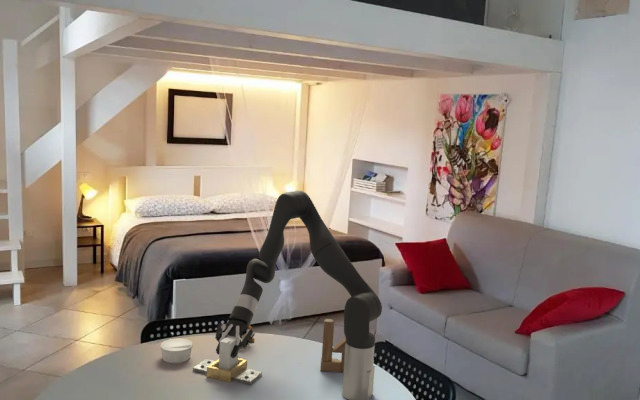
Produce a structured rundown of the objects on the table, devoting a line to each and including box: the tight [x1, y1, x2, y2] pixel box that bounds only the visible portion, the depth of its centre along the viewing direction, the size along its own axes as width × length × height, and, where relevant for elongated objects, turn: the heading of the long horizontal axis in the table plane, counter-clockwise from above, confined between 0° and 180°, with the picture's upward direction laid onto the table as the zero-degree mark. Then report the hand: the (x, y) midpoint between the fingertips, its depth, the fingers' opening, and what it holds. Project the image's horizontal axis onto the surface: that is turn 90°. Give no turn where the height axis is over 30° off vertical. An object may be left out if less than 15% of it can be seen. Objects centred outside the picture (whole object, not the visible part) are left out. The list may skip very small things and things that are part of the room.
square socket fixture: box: [192, 357, 263, 386], centre depth 184 cm, size 22×11×4 cm, turn 69°
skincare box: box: [218, 336, 240, 371], centre depth 183 cm, size 6×4×12 cm
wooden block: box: [320, 318, 346, 374], centre depth 190 cm, size 4×11×18 cm, turn 89°
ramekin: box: [159, 337, 194, 364], centre depth 193 cm, size 11×11×5 cm
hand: (225, 355), depth 182 cm, fingers open, 4 cm apart
